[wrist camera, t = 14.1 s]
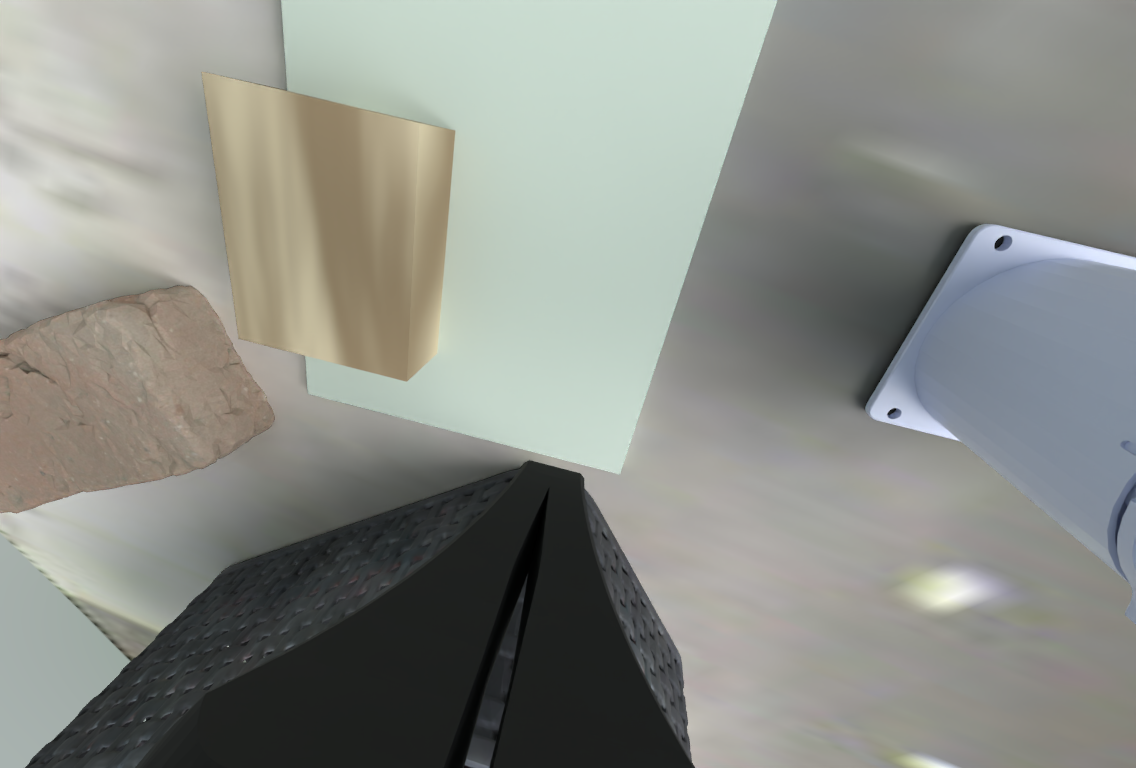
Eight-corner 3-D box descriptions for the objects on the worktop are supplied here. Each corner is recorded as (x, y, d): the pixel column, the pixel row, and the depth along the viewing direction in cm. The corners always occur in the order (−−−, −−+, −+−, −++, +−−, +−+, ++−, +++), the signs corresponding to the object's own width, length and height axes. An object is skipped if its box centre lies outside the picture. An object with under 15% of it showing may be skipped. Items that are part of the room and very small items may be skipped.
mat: (794, -61, 13) (800, -70, 13) (620, 467, 22) (619, 474, 22) (283, -172, 14) (268, -186, 13) (315, 388, 23) (307, 393, 22)
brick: (195, 273, 21) (86, 299, 17) (289, 422, 24) (216, 475, 20) (-17, 351, 26) (-146, 388, 21) (86, 470, 29) (-9, 521, 24)
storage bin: (569, 446, 22) (493, 762, 11) (699, 680, 29) (743, 1040, 17) (205, 569, 31) (-64, 819, 19) (368, 728, 38) (243, 989, 26)
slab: (419, 123, 14) (201, 71, 14) (406, 381, 18) (238, 338, 18) (455, 130, 16) (272, 87, 16) (437, 353, 20) (290, 316, 20)
